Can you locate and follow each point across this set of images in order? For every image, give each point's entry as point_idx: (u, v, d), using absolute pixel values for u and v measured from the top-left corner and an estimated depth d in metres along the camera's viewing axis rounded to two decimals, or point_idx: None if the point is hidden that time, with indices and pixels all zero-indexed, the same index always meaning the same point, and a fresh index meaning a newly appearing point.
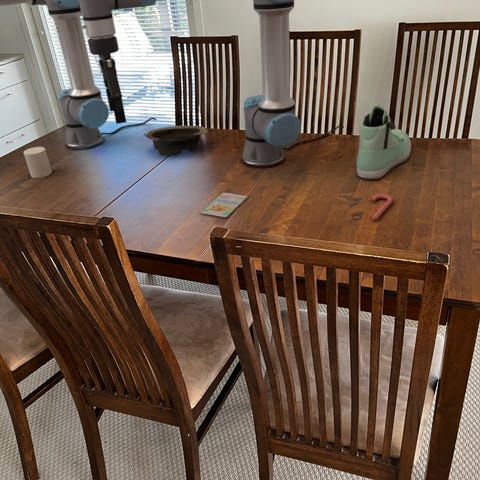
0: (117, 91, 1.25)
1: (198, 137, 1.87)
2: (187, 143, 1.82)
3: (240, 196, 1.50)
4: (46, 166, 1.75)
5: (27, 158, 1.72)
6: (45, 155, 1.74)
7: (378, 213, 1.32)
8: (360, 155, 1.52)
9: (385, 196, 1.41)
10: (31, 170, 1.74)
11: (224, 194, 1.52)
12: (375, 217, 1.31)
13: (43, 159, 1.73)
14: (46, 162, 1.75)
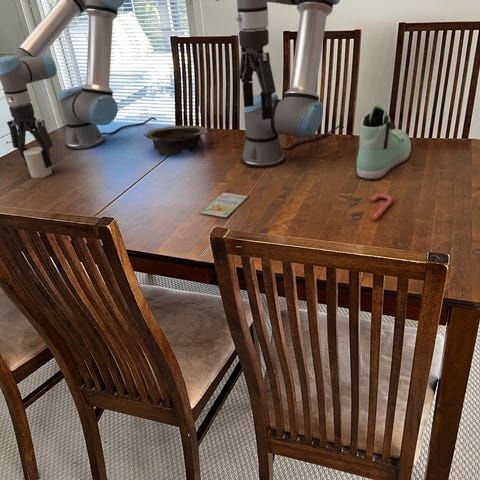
0: (271, 85, 1.20)
1: (198, 137, 1.87)
2: (187, 143, 1.82)
3: (240, 196, 1.50)
4: None
5: (27, 158, 1.72)
6: None
7: (378, 213, 1.32)
8: (360, 155, 1.52)
9: (385, 196, 1.41)
10: (31, 170, 1.74)
11: (224, 194, 1.52)
12: (375, 217, 1.31)
13: None
14: None
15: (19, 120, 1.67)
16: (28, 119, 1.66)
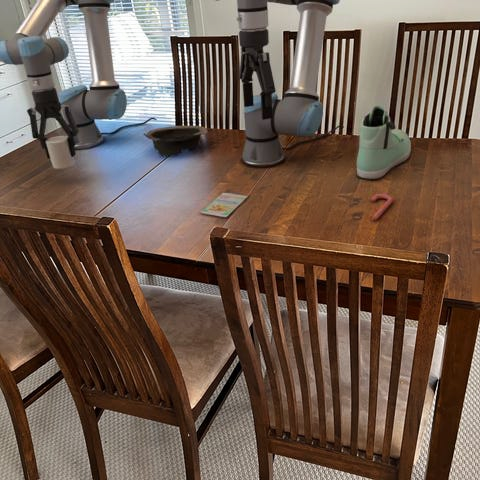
0: (271, 85, 1.20)
1: (198, 137, 1.87)
2: (187, 143, 1.82)
3: (240, 196, 1.50)
4: None
5: (52, 147, 1.60)
6: None
7: (378, 213, 1.32)
8: (360, 155, 1.52)
9: (385, 196, 1.41)
10: (56, 160, 1.62)
11: (224, 194, 1.52)
12: (375, 217, 1.31)
13: None
14: None
15: (42, 106, 1.56)
16: (53, 104, 1.55)
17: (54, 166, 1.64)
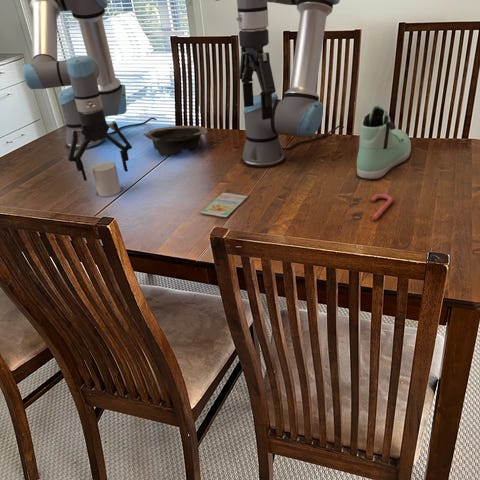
0: (271, 85, 1.20)
1: (198, 137, 1.87)
2: (187, 143, 1.82)
3: (240, 196, 1.50)
4: None
5: (103, 175, 1.54)
6: None
7: (378, 213, 1.32)
8: (360, 155, 1.52)
9: (385, 196, 1.41)
10: (107, 188, 1.56)
11: (224, 194, 1.52)
12: (375, 217, 1.31)
13: None
14: None
15: (91, 130, 1.48)
16: (102, 125, 1.49)
17: (103, 194, 1.57)
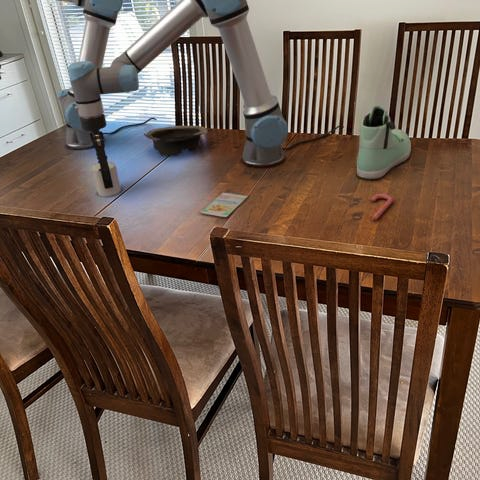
0: (105, 164, 1.49)
1: (198, 137, 1.87)
2: (187, 143, 1.82)
3: (240, 196, 1.50)
4: None
5: None
6: None
7: (378, 213, 1.32)
8: (360, 155, 1.52)
9: (385, 196, 1.41)
10: None
11: (224, 194, 1.52)
12: (375, 217, 1.31)
13: None
14: None
15: None
16: None
17: (103, 194, 1.57)
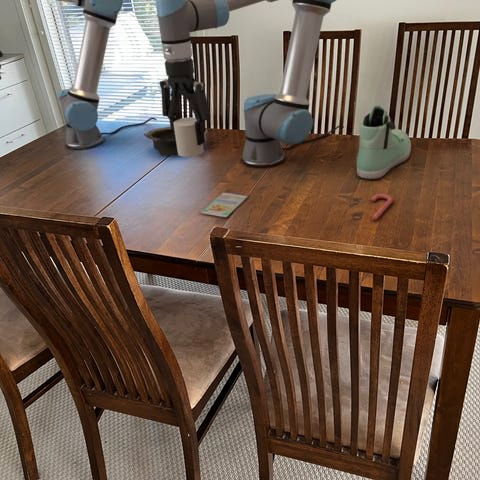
0: (207, 112, 1.30)
1: None
2: None
3: (240, 196, 1.50)
4: None
5: None
6: None
7: (378, 213, 1.32)
8: (360, 155, 1.52)
9: (385, 196, 1.41)
10: None
11: (224, 194, 1.52)
12: (375, 217, 1.31)
13: None
14: None
15: None
16: None
17: (195, 153, 1.37)
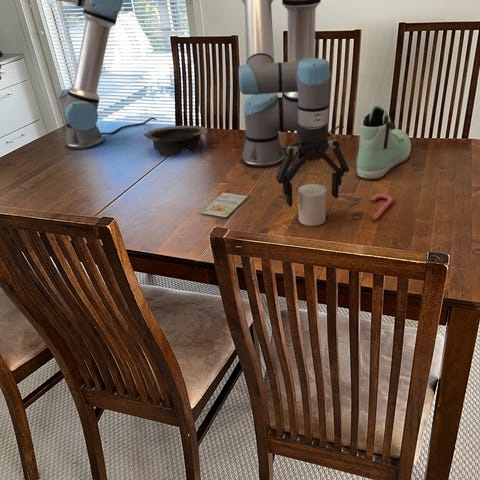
0: None
1: (198, 137, 1.87)
2: (187, 143, 1.82)
3: (240, 196, 1.50)
4: None
5: None
6: None
7: (378, 213, 1.32)
8: (360, 155, 1.52)
9: (385, 196, 1.41)
10: None
11: (224, 194, 1.52)
12: (375, 217, 1.31)
13: None
14: None
15: None
16: None
17: (325, 218, 1.34)
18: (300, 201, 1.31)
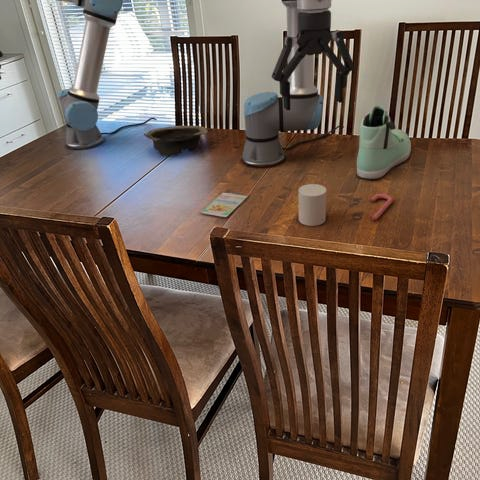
0: None
1: (198, 137, 1.87)
2: (187, 143, 1.82)
3: (240, 196, 1.50)
4: None
5: None
6: None
7: (378, 213, 1.32)
8: (360, 155, 1.52)
9: (385, 196, 1.41)
10: None
11: (224, 194, 1.52)
12: (375, 217, 1.31)
13: None
14: None
15: None
16: None
17: (325, 218, 1.34)
18: (300, 201, 1.31)
